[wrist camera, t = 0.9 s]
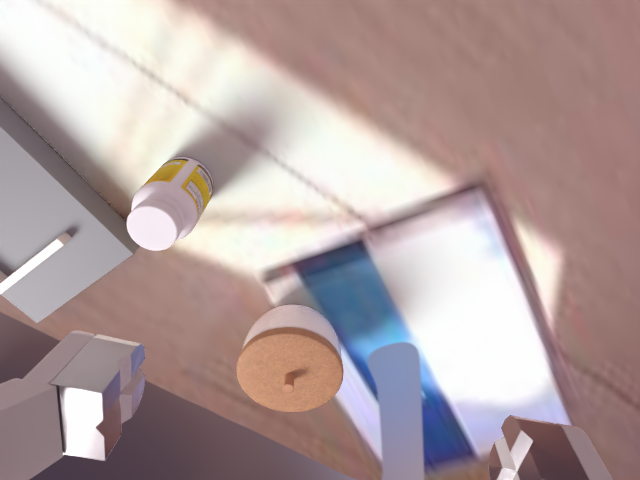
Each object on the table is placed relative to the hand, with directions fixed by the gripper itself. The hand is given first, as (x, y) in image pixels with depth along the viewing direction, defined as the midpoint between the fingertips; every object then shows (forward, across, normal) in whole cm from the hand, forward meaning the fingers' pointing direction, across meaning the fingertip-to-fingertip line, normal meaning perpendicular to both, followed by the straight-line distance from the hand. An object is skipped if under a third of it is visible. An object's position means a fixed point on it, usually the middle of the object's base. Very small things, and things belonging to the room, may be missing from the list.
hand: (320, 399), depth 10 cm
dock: (+32, +31, +13) cm, 47 cm away
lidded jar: (+35, +2, +23) cm, 42 cm away
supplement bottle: (+33, +15, +8) cm, 37 cm away
